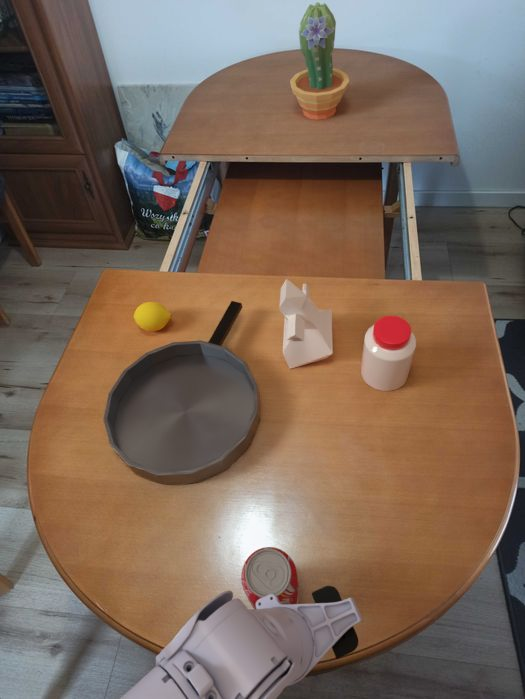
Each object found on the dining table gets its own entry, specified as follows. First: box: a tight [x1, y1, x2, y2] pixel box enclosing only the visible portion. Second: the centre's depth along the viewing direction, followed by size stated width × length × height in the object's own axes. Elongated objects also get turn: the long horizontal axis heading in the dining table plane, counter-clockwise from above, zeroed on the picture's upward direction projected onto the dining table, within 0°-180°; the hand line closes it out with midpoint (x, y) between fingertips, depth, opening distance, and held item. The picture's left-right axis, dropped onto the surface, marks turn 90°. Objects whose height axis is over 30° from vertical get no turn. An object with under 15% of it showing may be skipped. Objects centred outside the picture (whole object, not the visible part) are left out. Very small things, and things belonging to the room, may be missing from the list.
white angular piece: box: [278, 278, 334, 369], centre depth 82 cm, size 8×14×14 cm, turn 176°
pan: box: [102, 300, 261, 486], centre depth 81 cm, size 34×24×4 cm
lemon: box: [133, 301, 172, 332], centre depth 90 cm, size 7×5×5 cm
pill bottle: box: [359, 315, 417, 392], centre depth 78 cm, size 8×8×11 cm
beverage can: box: [240, 546, 300, 610], centre depth 58 cm, size 6×6×12 cm
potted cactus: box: [289, 1, 351, 121], centre depth 124 cm, size 15×15×25 cm
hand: (301, 636), depth 51 cm, fingers open, 7 cm apart
